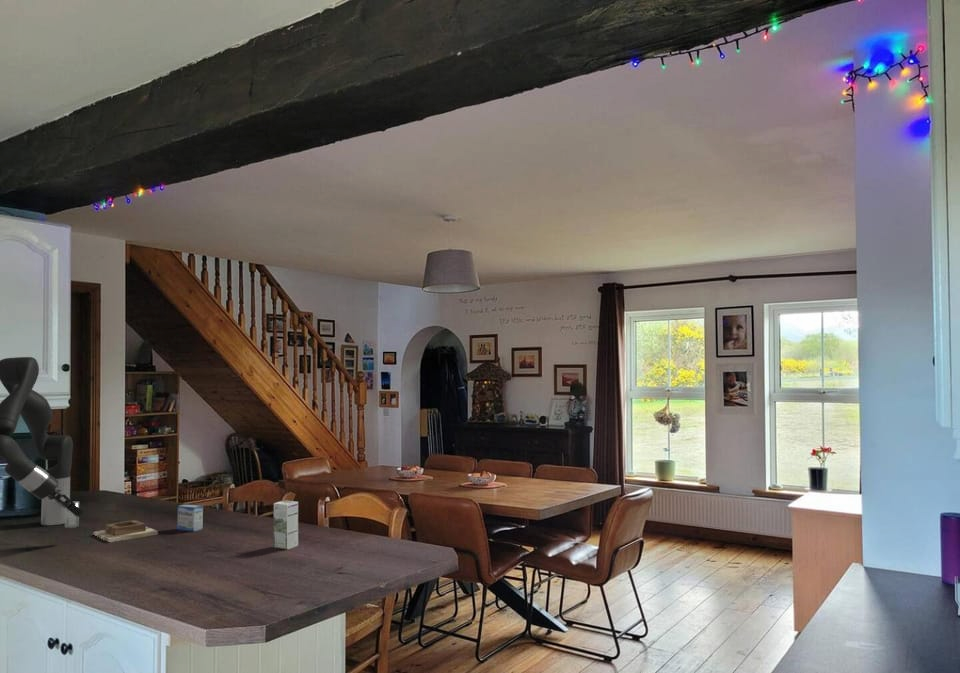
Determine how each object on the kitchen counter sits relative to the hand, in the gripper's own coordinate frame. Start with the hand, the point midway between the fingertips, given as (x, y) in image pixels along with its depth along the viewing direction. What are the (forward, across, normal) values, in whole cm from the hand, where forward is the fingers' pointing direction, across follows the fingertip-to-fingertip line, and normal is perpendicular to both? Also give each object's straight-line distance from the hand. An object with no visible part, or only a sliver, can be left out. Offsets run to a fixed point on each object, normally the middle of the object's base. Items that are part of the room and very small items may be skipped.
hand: (78, 513), depth 233 cm
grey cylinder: (+2, 0, +4) cm, 5 cm away
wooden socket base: (+18, 0, -4) cm, 18 cm away
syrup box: (+38, -58, -24) cm, 74 cm away
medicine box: (+31, -9, -17) cm, 37 cm away
